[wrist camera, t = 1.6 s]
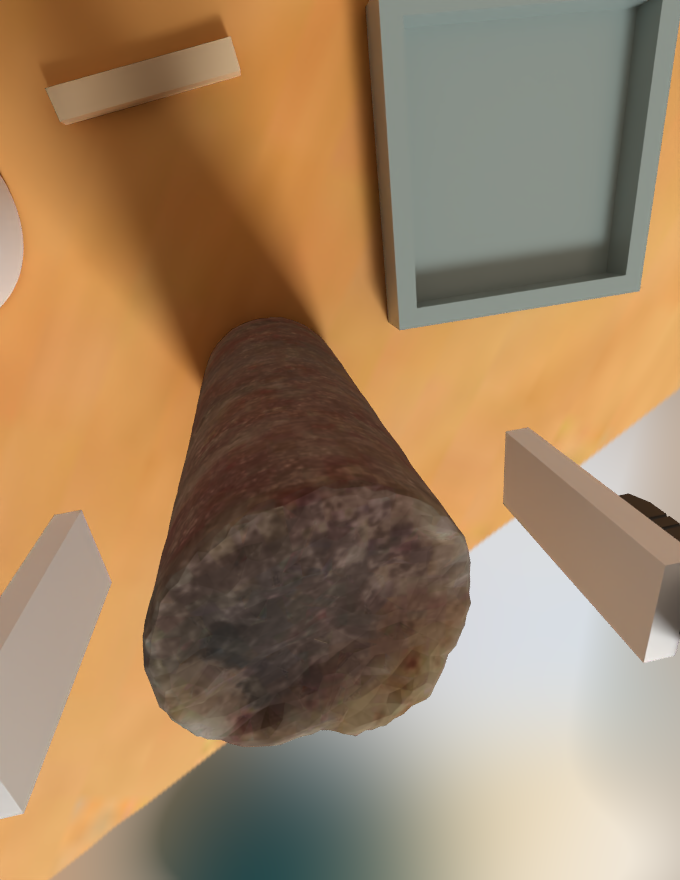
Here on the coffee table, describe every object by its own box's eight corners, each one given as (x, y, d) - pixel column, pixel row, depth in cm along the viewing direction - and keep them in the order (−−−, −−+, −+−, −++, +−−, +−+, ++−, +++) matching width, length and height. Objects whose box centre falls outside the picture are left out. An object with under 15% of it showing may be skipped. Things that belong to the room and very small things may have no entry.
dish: (388, 322, 28) (399, 330, 26) (365, 7, 21) (377, -14, 20) (612, 286, 29) (639, 291, 27) (650, -17, 23) (688, -39, 21)
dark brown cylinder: (231, 286, 25) (203, 451, 7) (356, 336, 28) (568, 553, 10) (189, 415, 28) (92, 774, 10) (307, 451, 30) (404, 795, 12)
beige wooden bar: (69, 126, 22) (59, 121, 21) (55, 95, 21) (45, 88, 20) (240, 77, 22) (240, 70, 21) (231, 45, 22) (230, 36, 20)
